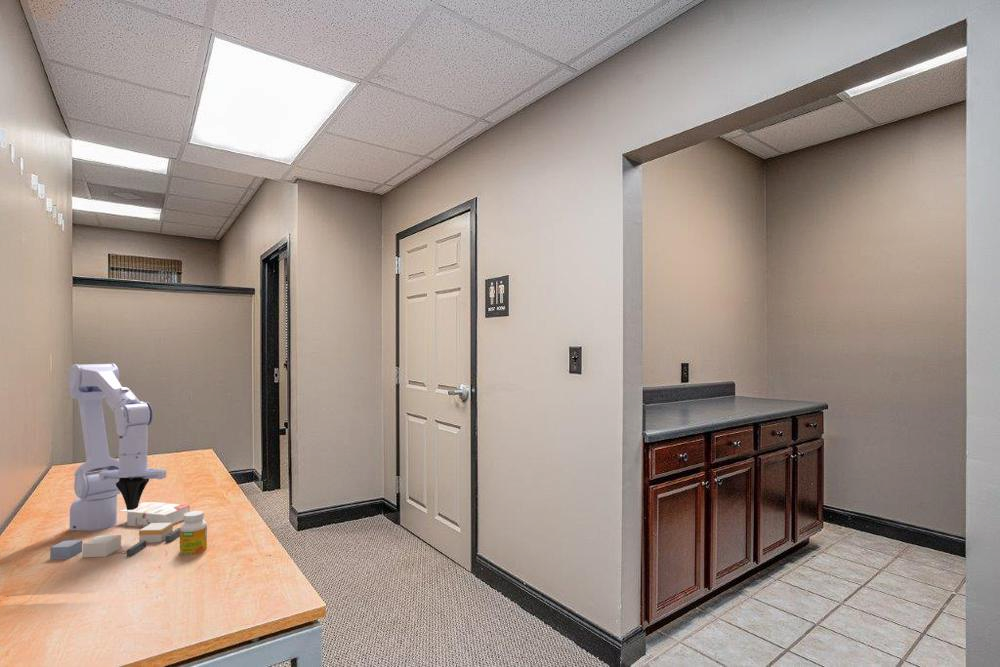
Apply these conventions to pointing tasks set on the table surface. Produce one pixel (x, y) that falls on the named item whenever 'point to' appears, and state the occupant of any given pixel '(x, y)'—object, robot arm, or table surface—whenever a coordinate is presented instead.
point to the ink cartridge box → (155, 513)
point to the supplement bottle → (193, 533)
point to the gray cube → (66, 549)
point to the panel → (142, 544)
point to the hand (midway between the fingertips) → (132, 508)
